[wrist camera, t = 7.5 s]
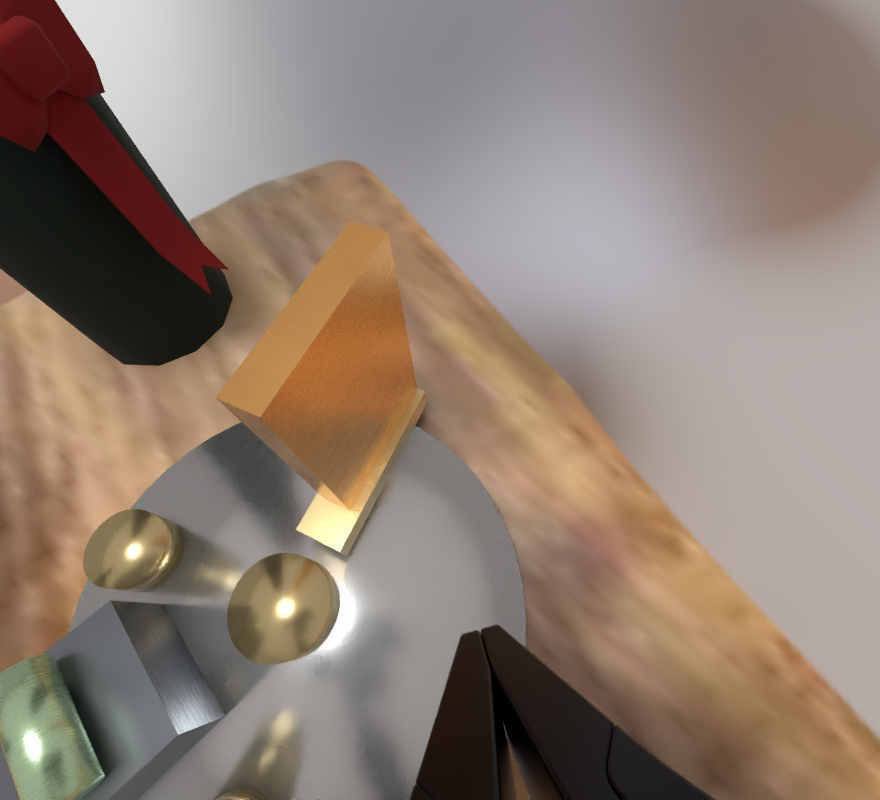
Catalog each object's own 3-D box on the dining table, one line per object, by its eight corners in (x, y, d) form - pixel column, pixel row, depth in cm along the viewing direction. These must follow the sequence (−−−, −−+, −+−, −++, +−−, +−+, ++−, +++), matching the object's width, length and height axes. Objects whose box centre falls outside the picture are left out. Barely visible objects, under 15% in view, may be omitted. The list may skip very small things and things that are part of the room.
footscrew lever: (306, 680, 16) (107, 754, 7) (226, 633, 17) (-45, 643, 8) (442, 409, 20) (428, 244, 12) (374, 383, 21) (313, 210, 12)
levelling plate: (616, 621, 18) (678, 620, 13) (223, 1104, 12) (66, 1426, 7) (346, 351, 24) (316, 280, 19) (14, 596, 19) (-145, 586, 14)
